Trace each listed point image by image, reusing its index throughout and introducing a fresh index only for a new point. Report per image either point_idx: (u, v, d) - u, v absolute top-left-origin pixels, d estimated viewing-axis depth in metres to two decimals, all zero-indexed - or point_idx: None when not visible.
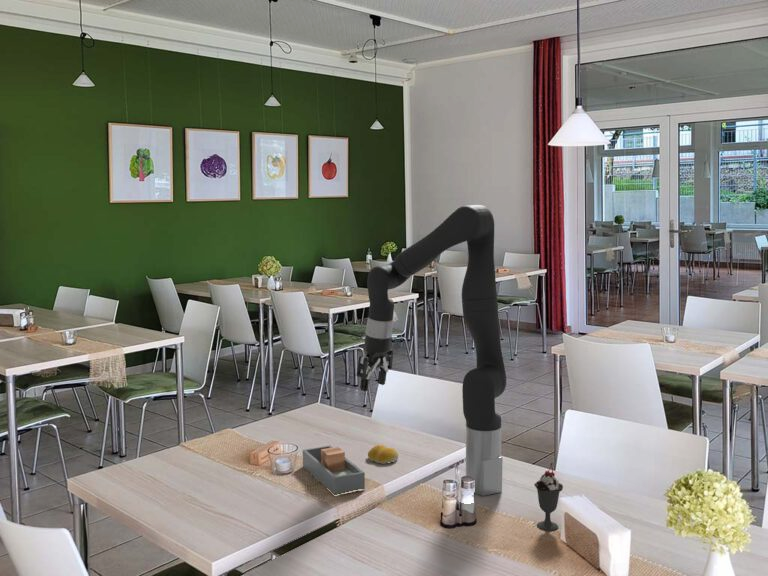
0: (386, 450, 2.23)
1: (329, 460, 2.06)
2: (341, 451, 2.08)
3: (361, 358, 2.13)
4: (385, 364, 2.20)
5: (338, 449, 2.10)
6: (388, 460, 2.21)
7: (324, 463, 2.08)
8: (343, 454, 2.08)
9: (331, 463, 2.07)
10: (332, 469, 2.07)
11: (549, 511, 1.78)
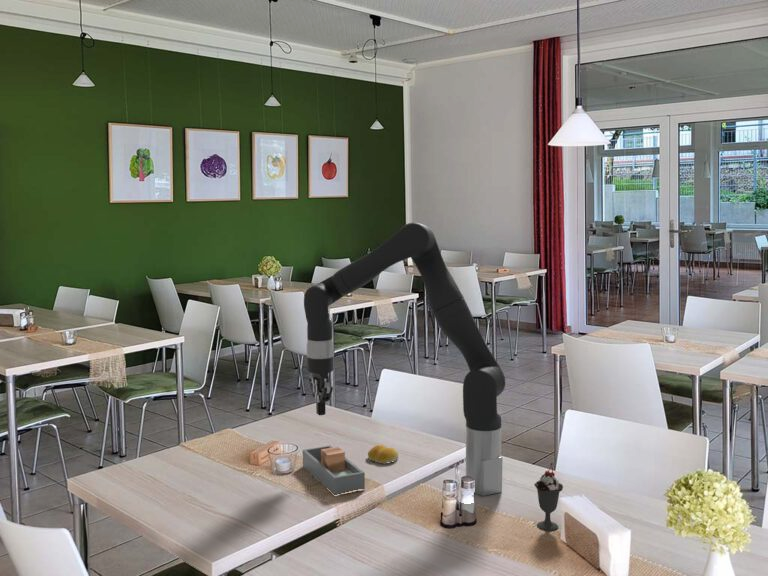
0: (386, 450, 2.23)
1: (329, 460, 2.06)
2: (341, 451, 2.08)
3: (327, 390, 2.09)
4: None
5: (338, 449, 2.10)
6: (388, 460, 2.21)
7: (324, 463, 2.08)
8: (343, 454, 2.08)
9: (331, 463, 2.07)
10: (332, 469, 2.07)
11: (549, 511, 1.78)
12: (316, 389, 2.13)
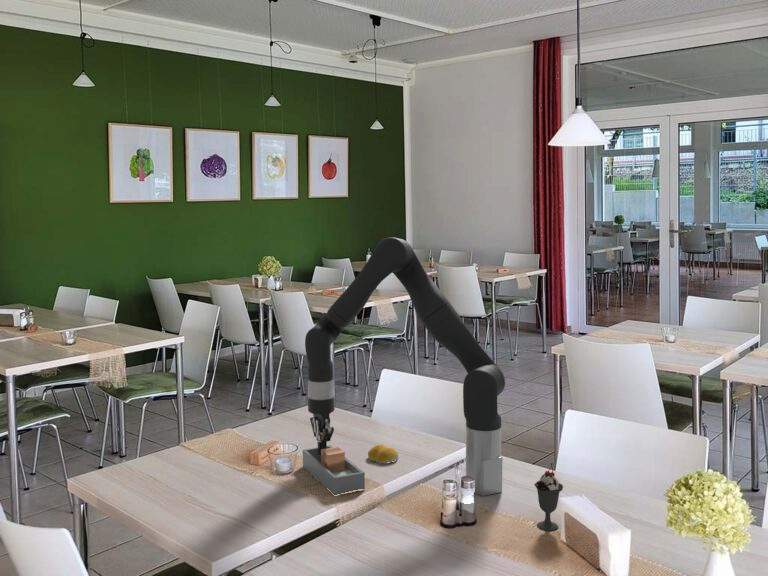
0: (386, 450, 2.23)
1: (329, 460, 2.06)
2: (341, 451, 2.08)
3: (328, 431, 2.10)
4: None
5: (338, 449, 2.10)
6: (388, 460, 2.21)
7: (324, 463, 2.08)
8: (343, 454, 2.08)
9: (331, 463, 2.07)
10: (332, 469, 2.07)
11: (549, 511, 1.78)
12: (317, 429, 2.14)
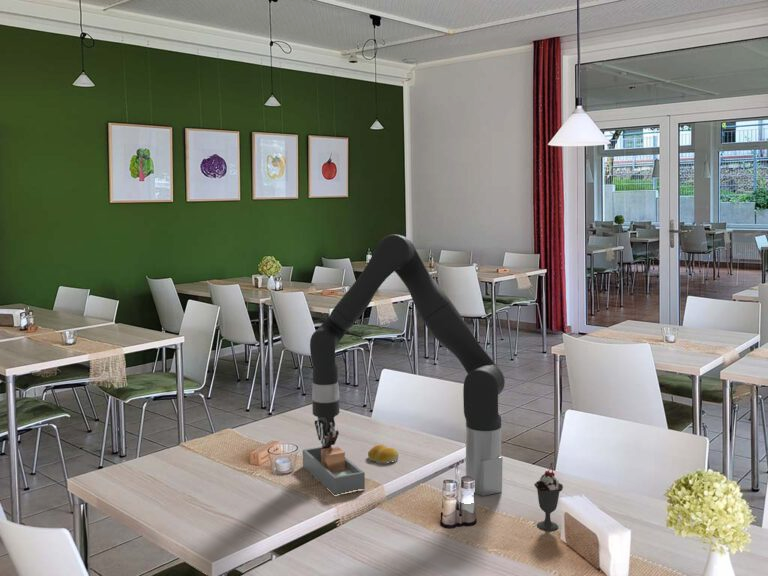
0: (386, 450, 2.23)
1: (329, 460, 2.06)
2: (341, 451, 2.08)
3: (333, 434, 2.07)
4: None
5: (338, 449, 2.10)
6: (388, 460, 2.21)
7: (324, 463, 2.08)
8: (343, 454, 2.08)
9: (331, 463, 2.07)
10: (332, 469, 2.07)
11: (549, 511, 1.78)
12: (322, 433, 2.11)
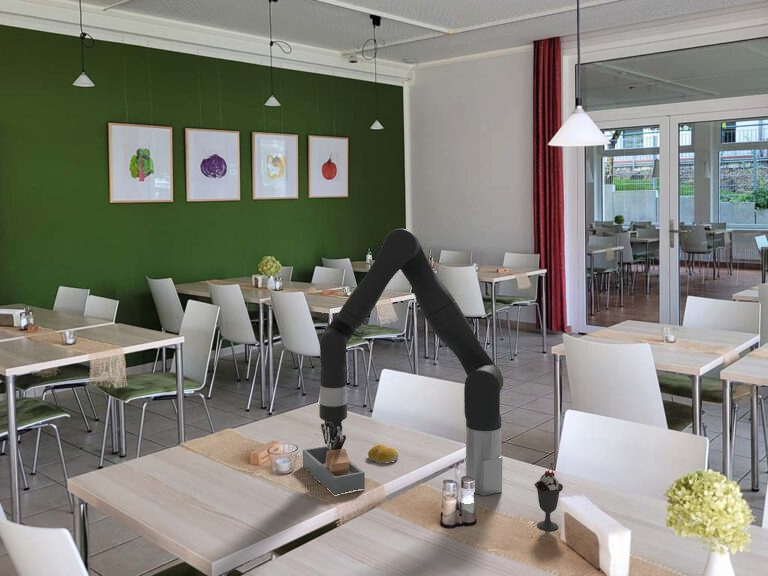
0: (386, 450, 2.23)
1: (333, 467, 2.01)
2: (346, 459, 2.03)
3: (340, 439, 2.02)
4: None
5: (344, 454, 2.04)
6: (388, 460, 2.21)
7: (328, 465, 2.04)
8: (348, 463, 2.02)
9: (334, 470, 2.02)
10: None
11: (549, 511, 1.78)
12: (329, 437, 2.06)
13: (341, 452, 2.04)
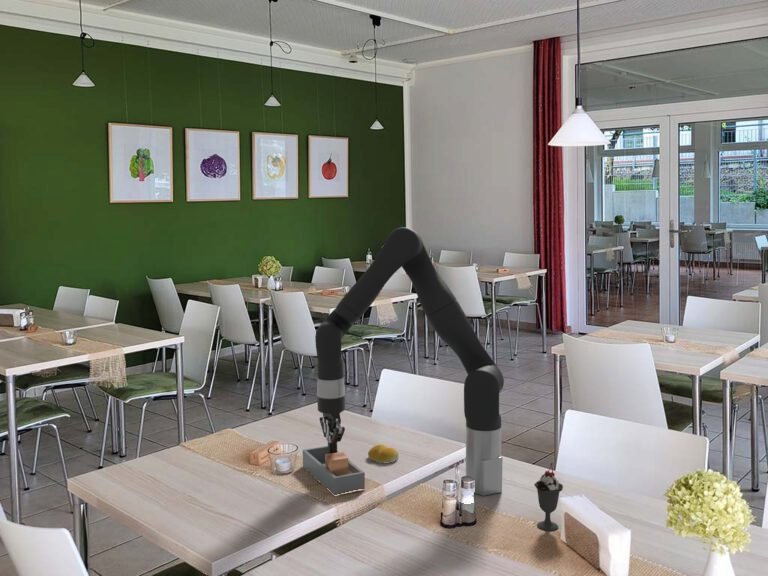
0: (386, 449, 2.23)
1: (332, 465, 2.02)
2: (345, 457, 2.04)
3: (339, 431, 2.03)
4: None
5: (342, 454, 2.06)
6: (388, 459, 2.21)
7: (327, 468, 2.05)
8: (346, 460, 2.03)
9: (334, 469, 2.03)
10: (335, 475, 2.03)
11: (549, 511, 1.78)
12: (327, 429, 2.07)
13: (339, 454, 2.06)
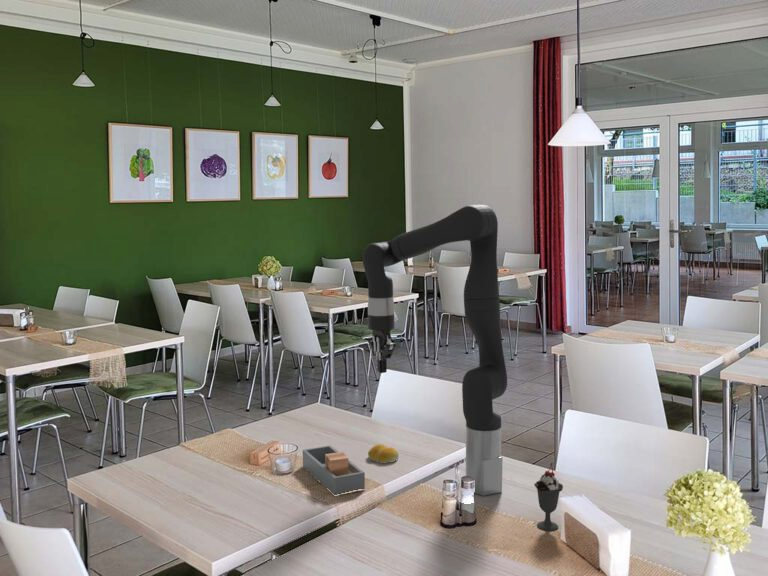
0: (386, 449, 2.23)
1: (332, 465, 2.02)
2: (345, 457, 2.04)
3: (390, 346, 2.12)
4: None
5: (342, 454, 2.06)
6: (388, 459, 2.21)
7: (327, 468, 2.05)
8: (346, 460, 2.03)
9: (334, 469, 2.03)
10: (335, 475, 2.03)
11: (549, 511, 1.78)
12: (378, 347, 2.15)
13: (339, 454, 2.06)
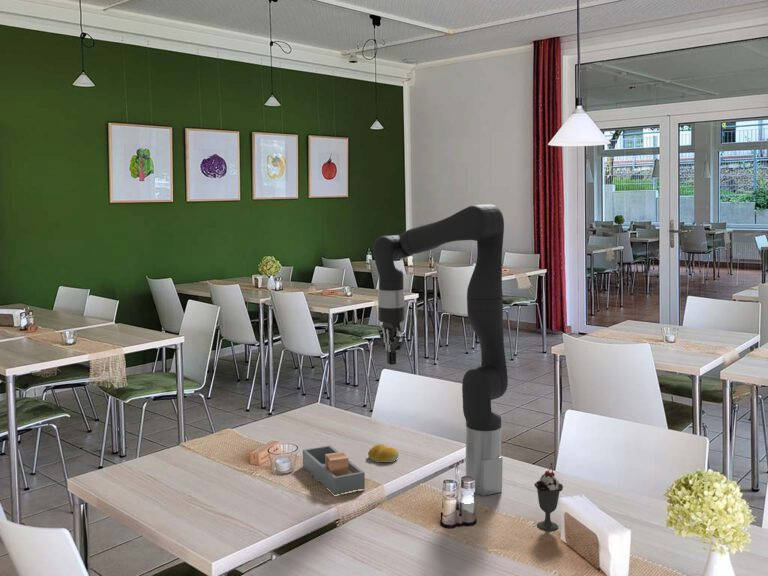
0: (386, 449, 2.23)
1: (332, 465, 2.02)
2: (345, 457, 2.04)
3: (400, 338, 2.14)
4: None
5: (342, 454, 2.06)
6: (388, 459, 2.21)
7: (327, 468, 2.05)
8: (346, 460, 2.03)
9: (334, 469, 2.03)
10: (335, 475, 2.03)
11: (549, 511, 1.78)
12: (388, 338, 2.17)
13: (339, 454, 2.06)
